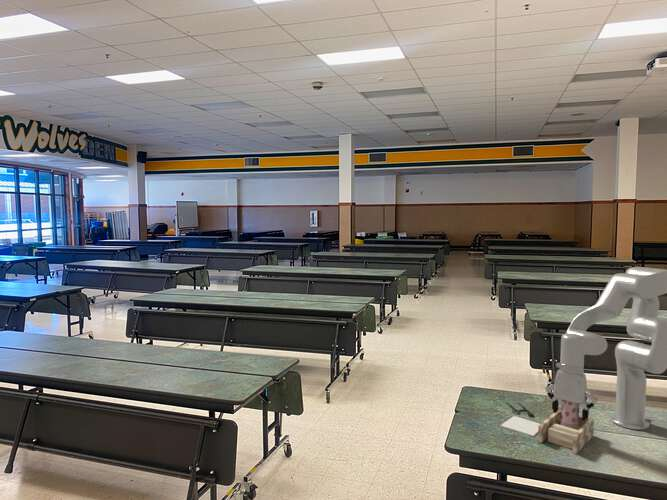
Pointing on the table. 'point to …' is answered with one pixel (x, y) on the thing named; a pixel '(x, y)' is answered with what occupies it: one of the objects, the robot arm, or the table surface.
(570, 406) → the beverage can
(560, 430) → the offcut upper
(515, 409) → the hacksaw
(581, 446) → the frame
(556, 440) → the offcut lower
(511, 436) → the table surface
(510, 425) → the pad
